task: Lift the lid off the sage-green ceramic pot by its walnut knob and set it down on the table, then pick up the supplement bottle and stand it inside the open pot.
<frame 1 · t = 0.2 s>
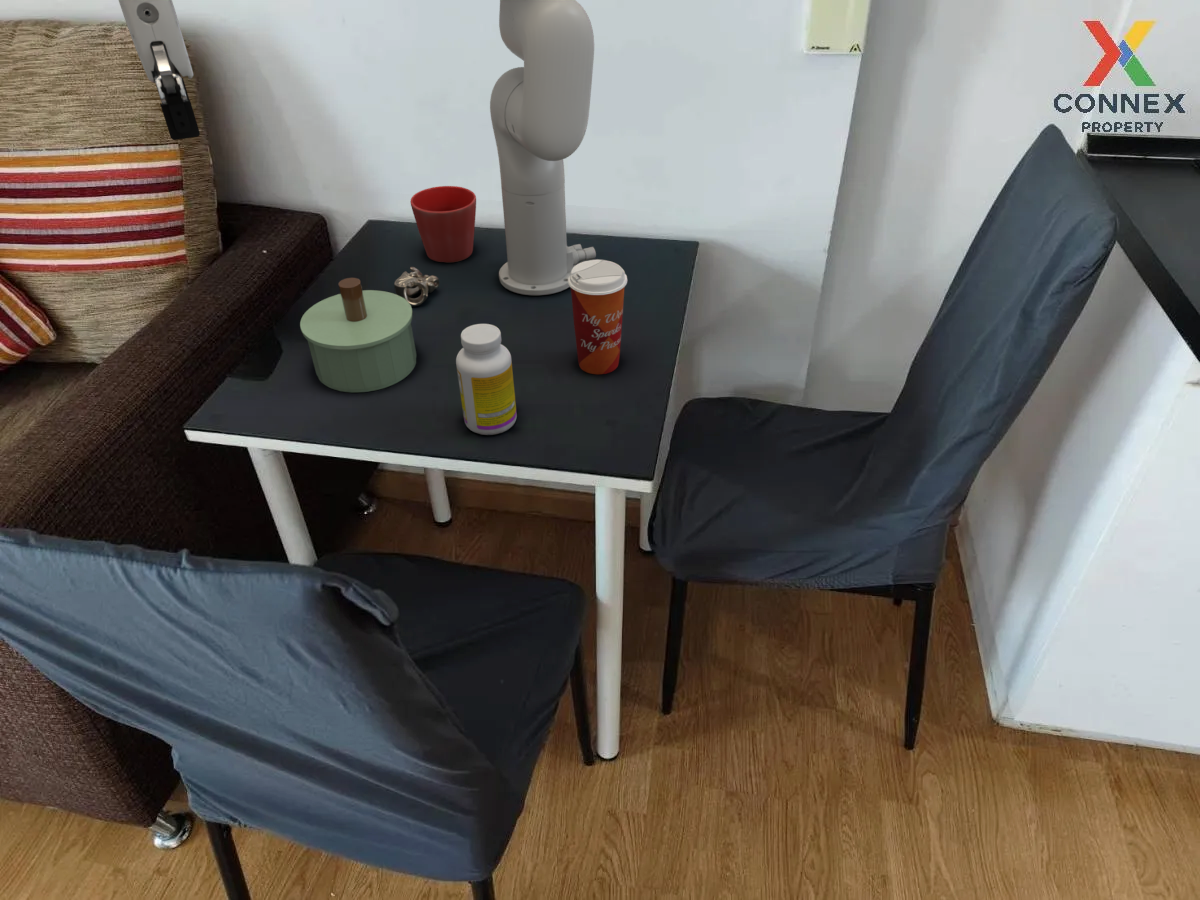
hand: (182, 125, 104), 31 cm above the table, tool pointing down, fingers open, 9 cm apart
flower pot: (450, 254, 146), on the table
ornament: (418, 296, 135), on the table
pot: (366, 364, 119), on the table
paper cup: (599, 364, 119), on the table
pot lid: (357, 320, 115), point 7 cm above the table, touching pot
supplement bottle: (491, 422, 109), on the table
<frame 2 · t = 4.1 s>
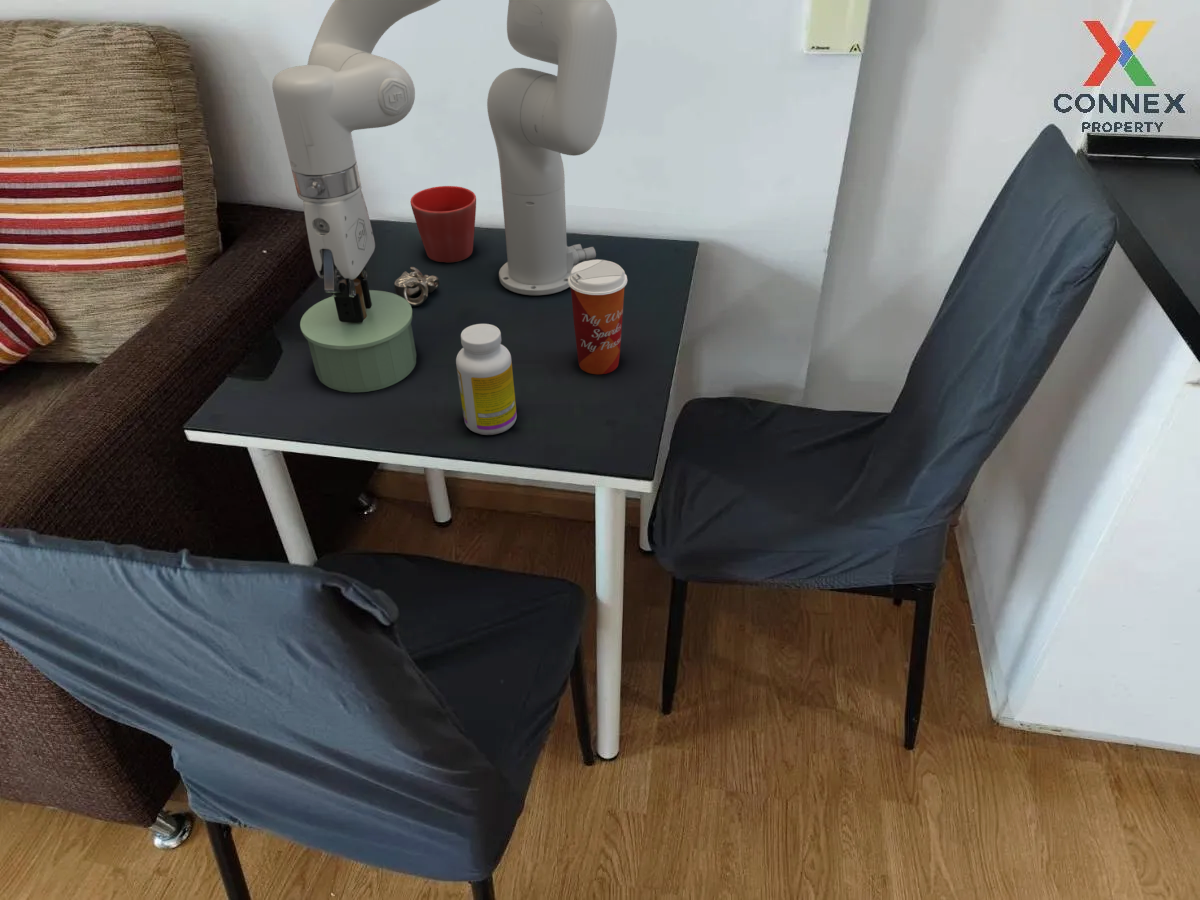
hand: (355, 313, 114), 8 cm above the table, tool pointing down, fingers closed on pot lid, 2 cm apart
pot lid: (357, 320, 115), point 7 cm above the table, touching gripper, pot
everything else where it was.
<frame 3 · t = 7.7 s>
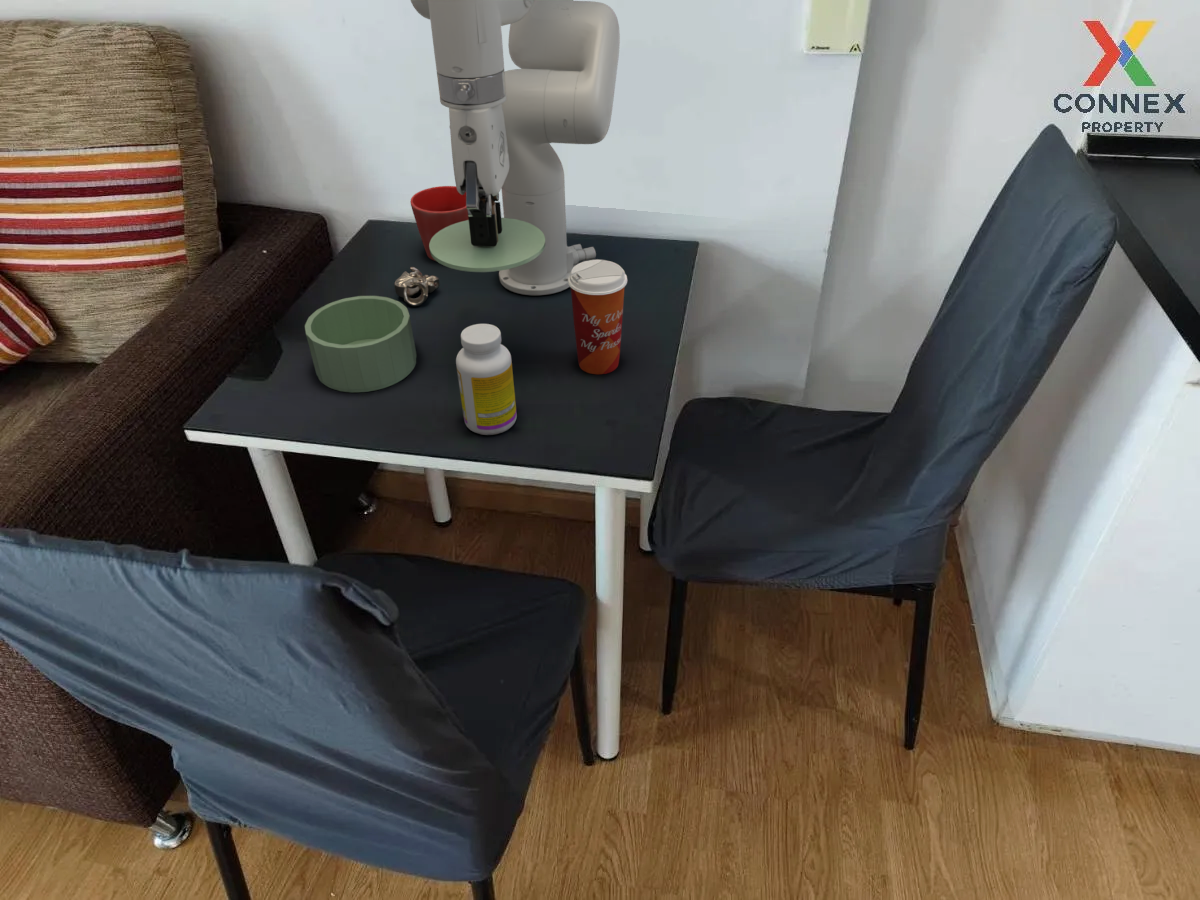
hand: (487, 237, 108), 18 cm above the table, tool pointing down, fingers closed on pot lid, 2 cm apart
pot lid: (487, 245, 109), point 17 cm above the table, touching gripper
everything else where it was.
when the fingers open (2 cm above the table, at t = 11.5 s): pot lid stays where it is, point 1 cm above the table.
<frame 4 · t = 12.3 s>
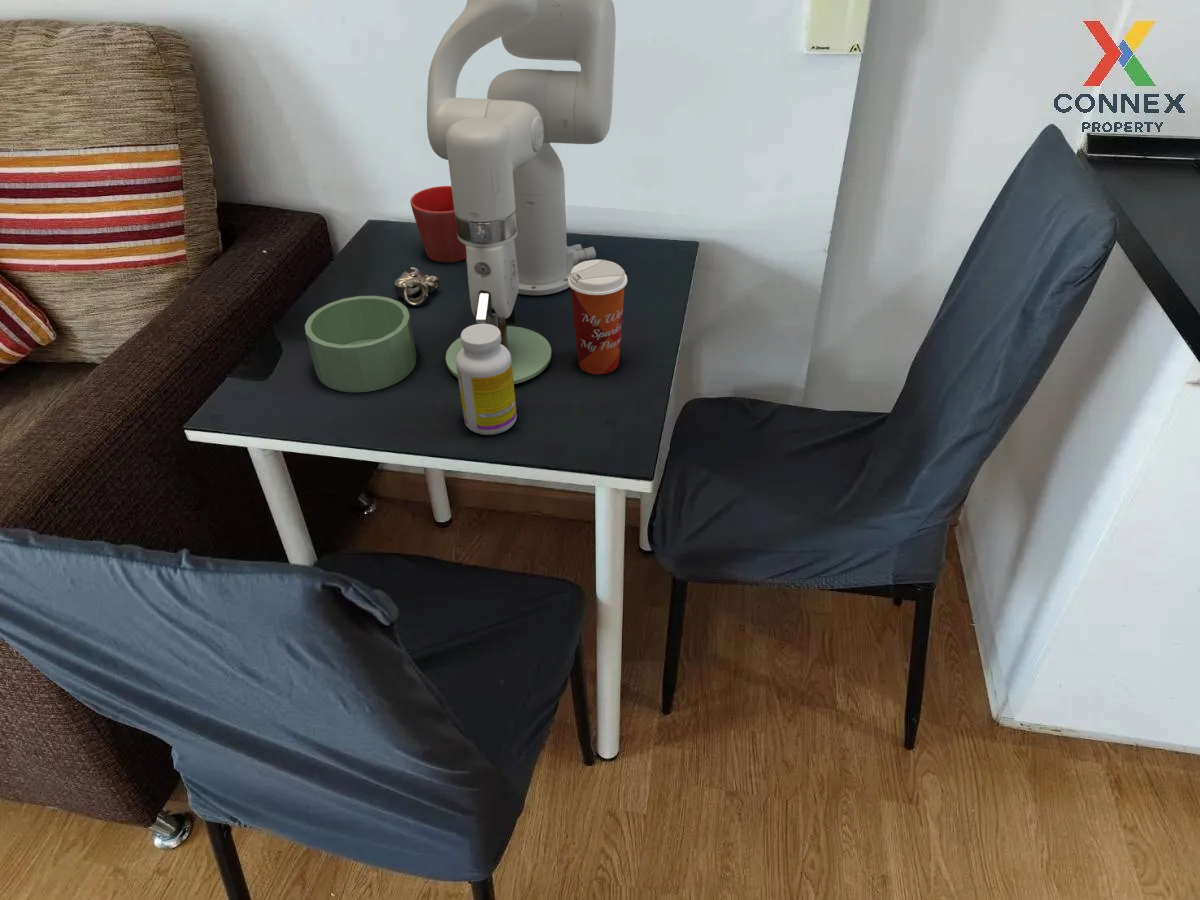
hand: (498, 341, 118), 3 cm above the table, tool pointing down, fingers open, 9 cm apart
pot lid: (499, 356, 119), point 1 cm above the table
everything else where it was.
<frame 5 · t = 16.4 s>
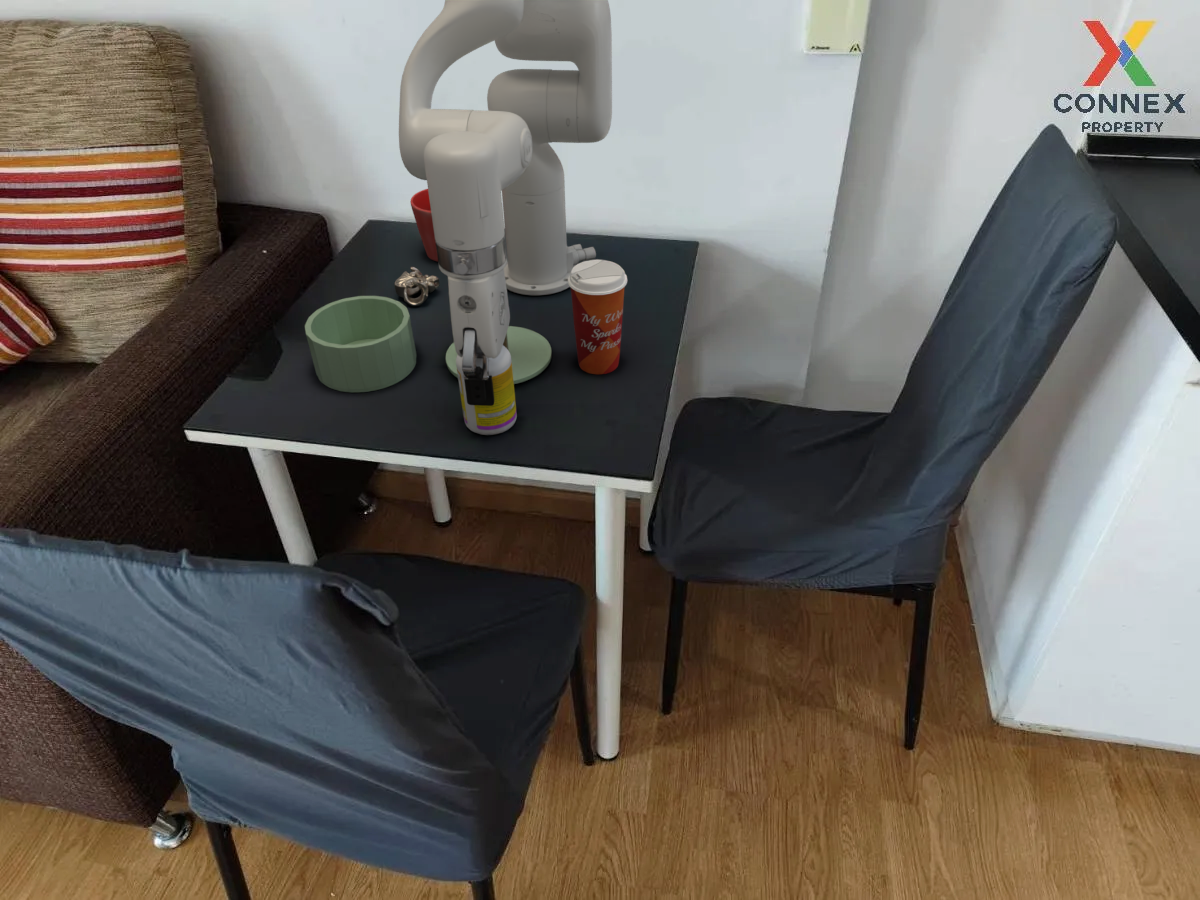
hand: (486, 385, 105), 6 cm above the table, tool pointing down, fingers closed on supplement bottle, 6 cm apart
supplement bottle: (491, 422, 109), on the table, touching gripper
everything else where it was.
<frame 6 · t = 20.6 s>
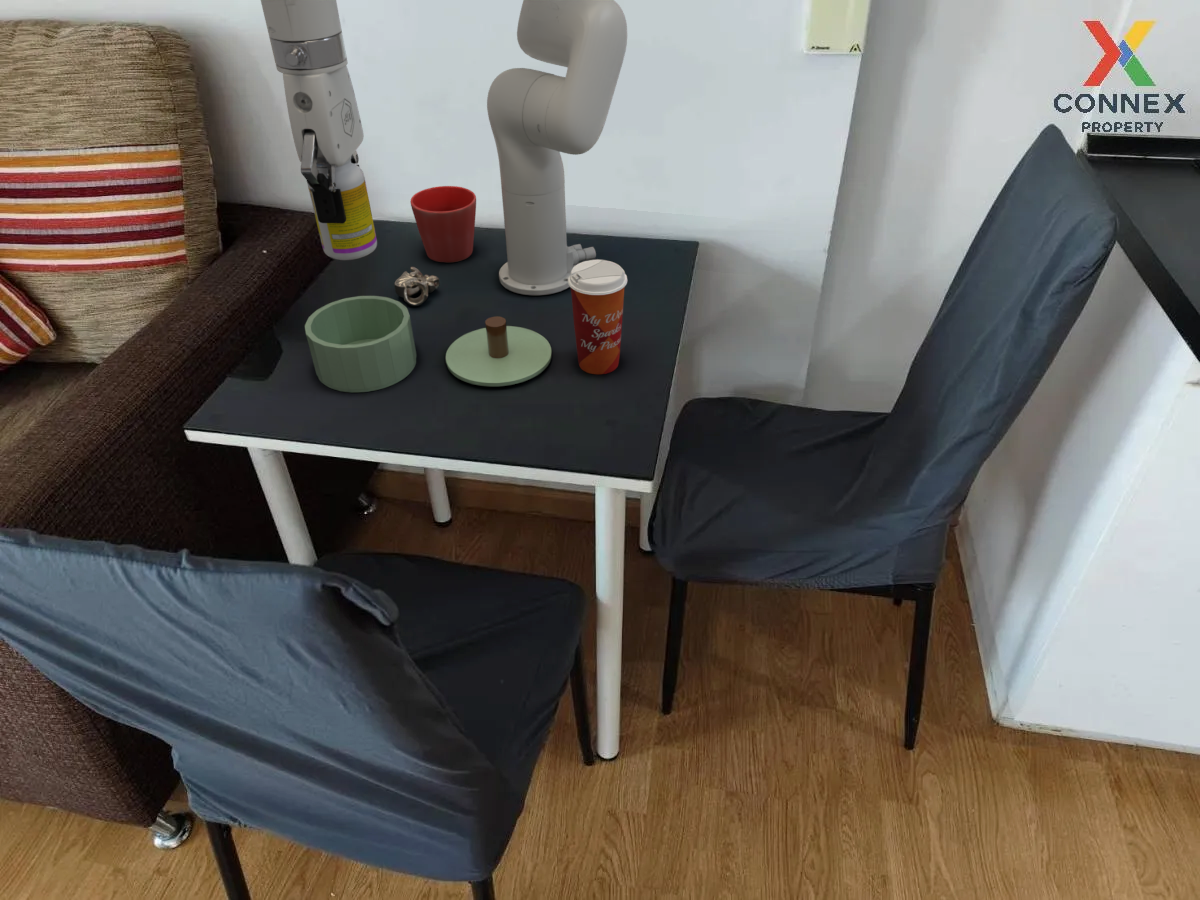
hand: (342, 207, 104), 23 cm above the table, tool pointing down, fingers closed on supplement bottle, 6 cm apart
supplement bottle: (351, 251, 108), point 17 cm above the table, touching gripper
everything else where it was.
when the fingers open (6 cm above the table, at t = 25.0 s): supplement bottle stays where it is, resting on pot.
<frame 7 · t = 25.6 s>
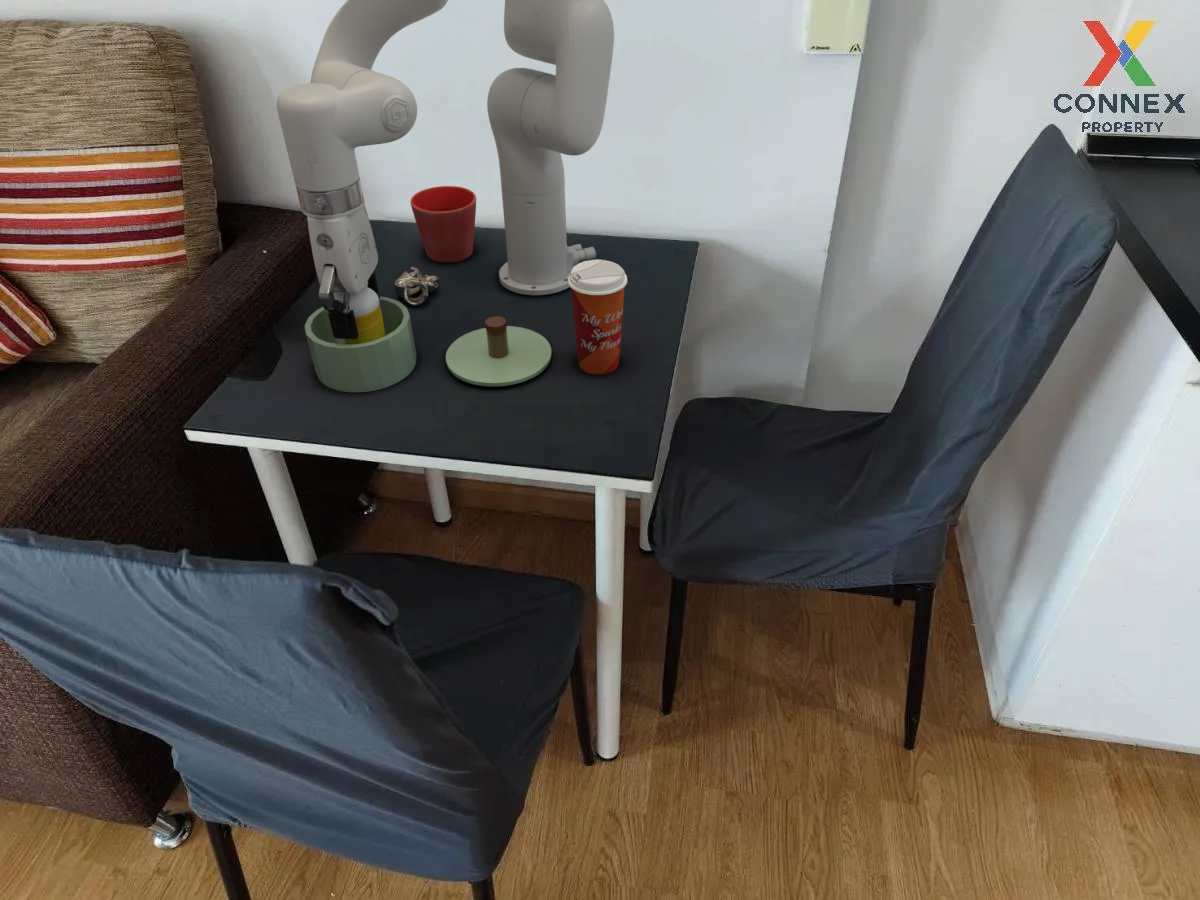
hand: (357, 318, 115), 7 cm above the table, tool pointing down, fingers open, 9 cm apart
supplement bottle: (366, 362, 119), resting on pot
everything else where it was.
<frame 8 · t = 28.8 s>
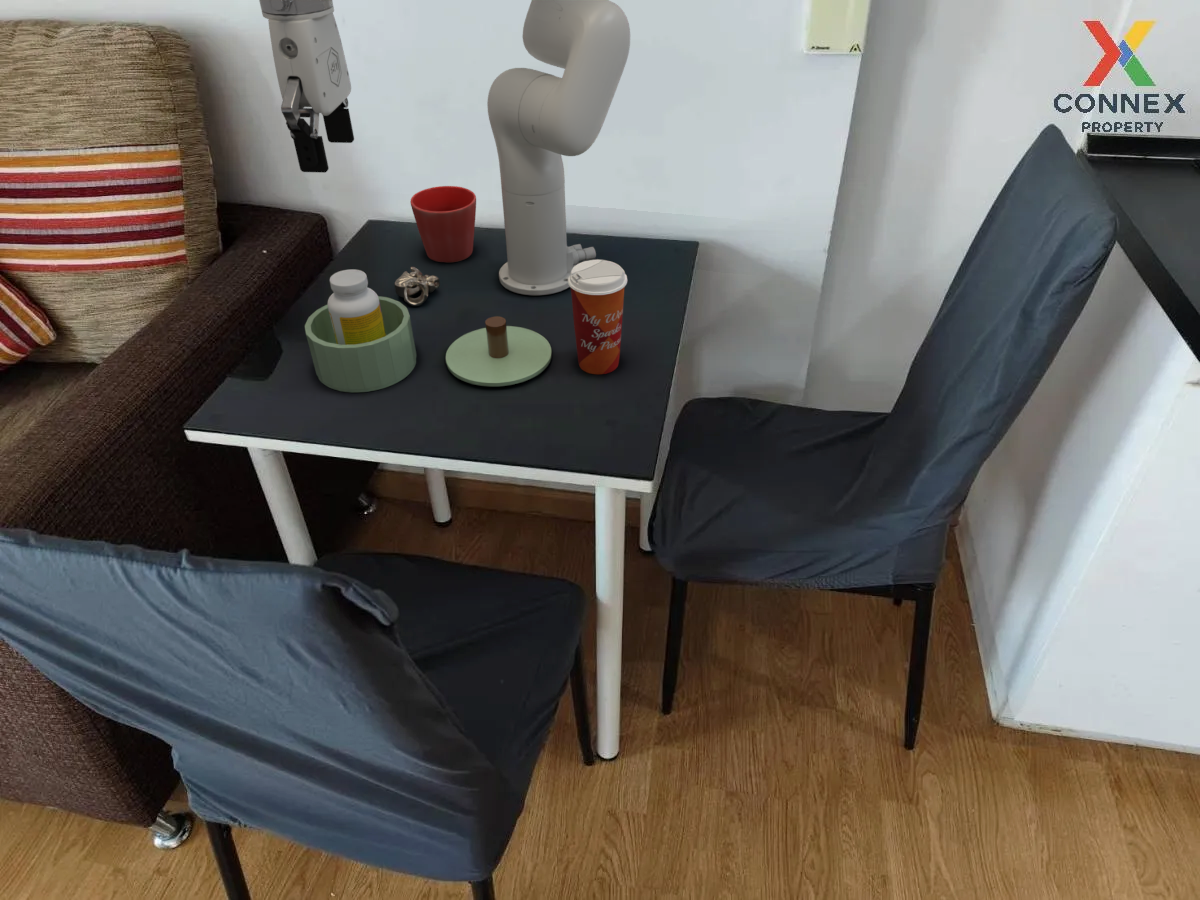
hand: (328, 156, 103), 28 cm above the table, tool pointing down, fingers open, 9 cm apart
nothing on the table moved.
at the end: pot lid inside the target area (0.2 cm from its centre), point 0.6 cm above the table; supplement bottle inside the target area in the pot (0.0 cm from its centre), point 0.3 cm above the pot's base; supplement bottle tilted 0° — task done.
